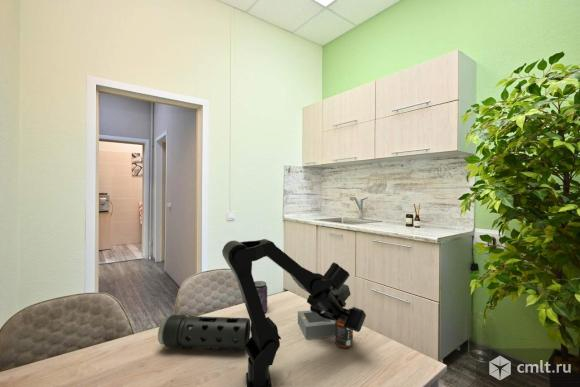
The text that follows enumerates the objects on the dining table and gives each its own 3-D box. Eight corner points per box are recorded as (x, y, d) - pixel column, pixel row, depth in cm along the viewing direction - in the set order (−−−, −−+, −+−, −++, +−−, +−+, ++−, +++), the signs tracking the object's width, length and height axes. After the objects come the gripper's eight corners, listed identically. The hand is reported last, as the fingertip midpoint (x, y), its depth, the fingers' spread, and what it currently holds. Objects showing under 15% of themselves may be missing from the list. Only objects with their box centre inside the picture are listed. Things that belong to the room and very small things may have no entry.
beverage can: (247, 313, 112) (247, 285, 112) (254, 306, 119) (254, 279, 119) (263, 316, 110) (263, 287, 110) (269, 308, 117) (269, 281, 117)
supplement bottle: (354, 349, 87) (354, 315, 87) (335, 348, 88) (335, 314, 88) (351, 339, 93) (351, 307, 93) (334, 338, 94) (334, 306, 94)
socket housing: (338, 336, 95) (338, 322, 95) (305, 339, 93) (305, 326, 93) (326, 319, 107) (326, 308, 107) (297, 322, 105) (297, 310, 105)
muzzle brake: (244, 359, 82) (244, 326, 82) (156, 355, 84) (156, 322, 84) (250, 342, 92) (250, 312, 91) (171, 338, 93) (171, 309, 93)
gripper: (363, 285, 81) (379, 310, 89) (315, 271, 94) (333, 294, 102) (348, 320, 75) (367, 343, 83) (300, 300, 89) (320, 322, 97)
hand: (346, 323), depth 91 cm, fingers closed on supplement bottle, 6 cm apart
